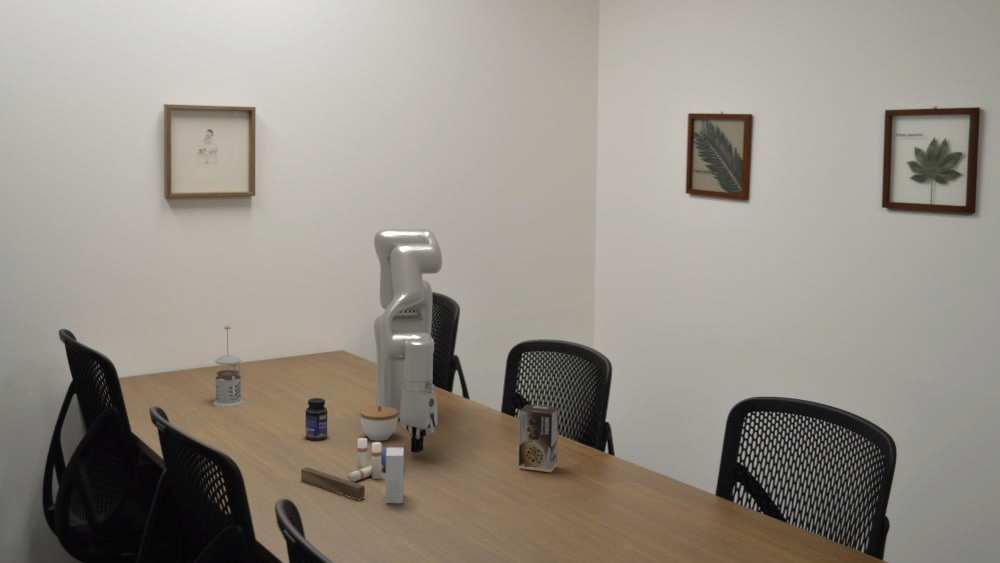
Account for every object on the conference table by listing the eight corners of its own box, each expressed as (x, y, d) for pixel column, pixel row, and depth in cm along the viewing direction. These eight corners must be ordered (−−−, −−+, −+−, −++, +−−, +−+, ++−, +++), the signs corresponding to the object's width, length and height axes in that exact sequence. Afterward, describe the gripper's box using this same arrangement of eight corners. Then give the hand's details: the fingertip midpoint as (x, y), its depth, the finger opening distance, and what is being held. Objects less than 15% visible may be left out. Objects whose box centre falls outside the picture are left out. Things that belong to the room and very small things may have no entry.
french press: (207, 405, 303) (205, 327, 300) (223, 395, 315) (222, 320, 311) (236, 407, 302) (235, 329, 298) (251, 397, 313) (251, 322, 309)
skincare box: (385, 494, 232) (386, 447, 231) (403, 494, 233) (404, 447, 231) (385, 504, 226) (385, 455, 225) (403, 504, 227) (403, 455, 225)
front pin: (373, 462, 248) (348, 471, 240) (380, 465, 246) (355, 474, 239) (373, 471, 248) (347, 480, 241) (380, 474, 247) (354, 483, 239)
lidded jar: (405, 437, 276) (406, 406, 275) (376, 445, 269) (376, 413, 267) (381, 429, 284) (381, 398, 282) (352, 436, 276) (352, 405, 275)
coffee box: (557, 466, 256) (559, 407, 254) (550, 474, 250) (552, 413, 248) (524, 461, 259) (526, 403, 256) (517, 469, 253) (519, 409, 250)
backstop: (307, 478, 242) (307, 467, 241) (364, 498, 230) (364, 486, 230) (301, 480, 240) (301, 469, 240) (358, 500, 228) (358, 488, 228)
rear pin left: (376, 475, 245) (376, 441, 244) (383, 477, 244) (383, 443, 243) (369, 478, 243) (369, 443, 242) (376, 480, 242) (376, 445, 241)
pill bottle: (322, 441, 271) (322, 403, 269) (302, 439, 272) (301, 402, 270) (330, 435, 277) (330, 398, 275) (310, 433, 278) (310, 396, 276)
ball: (372, 464, 248) (385, 467, 253) (390, 470, 245) (403, 474, 250) (380, 442, 249) (393, 445, 254) (397, 448, 246) (410, 451, 251)
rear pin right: (362, 470, 248) (362, 437, 247) (369, 473, 247) (369, 439, 246) (355, 473, 246) (355, 439, 245) (362, 475, 245) (362, 441, 244)
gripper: (448, 387, 255) (447, 453, 258) (407, 377, 264) (406, 441, 267) (430, 393, 249) (428, 461, 252) (388, 382, 258) (387, 448, 261)
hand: (417, 451), depth 260 cm, fingers closed
